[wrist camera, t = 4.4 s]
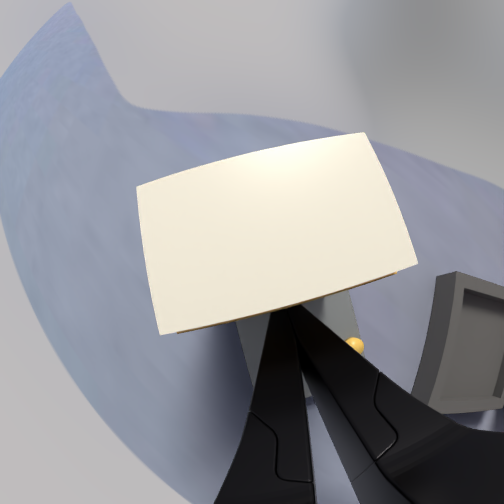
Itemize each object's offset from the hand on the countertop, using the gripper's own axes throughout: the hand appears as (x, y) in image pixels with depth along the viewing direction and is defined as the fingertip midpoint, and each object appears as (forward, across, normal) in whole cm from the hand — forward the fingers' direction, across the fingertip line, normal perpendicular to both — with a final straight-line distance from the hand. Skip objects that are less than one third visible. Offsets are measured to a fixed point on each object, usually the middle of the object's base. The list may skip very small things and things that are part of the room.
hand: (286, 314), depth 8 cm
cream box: (+5, 0, +3) cm, 6 cm away
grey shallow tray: (0, -12, +9) cm, 15 cm away
